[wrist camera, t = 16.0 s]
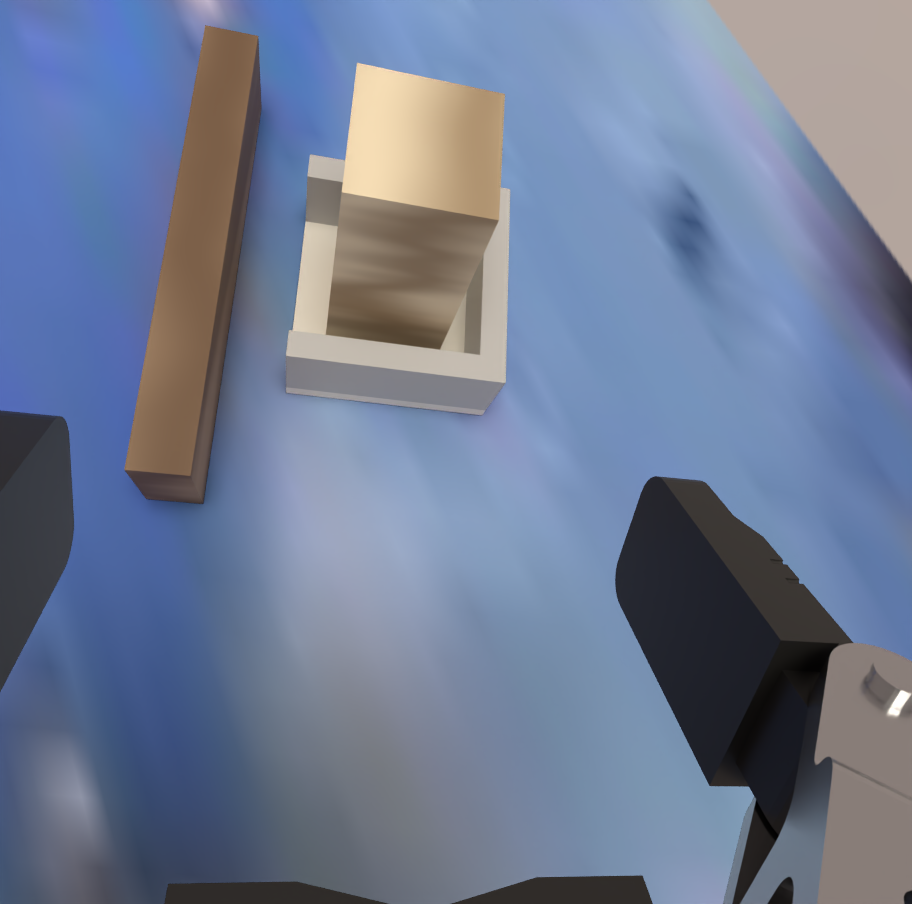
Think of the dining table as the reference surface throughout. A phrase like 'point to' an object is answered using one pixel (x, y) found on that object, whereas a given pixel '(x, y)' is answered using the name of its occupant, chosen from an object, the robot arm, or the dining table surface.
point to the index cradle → (385, 364)
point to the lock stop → (413, 205)
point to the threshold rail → (198, 275)
